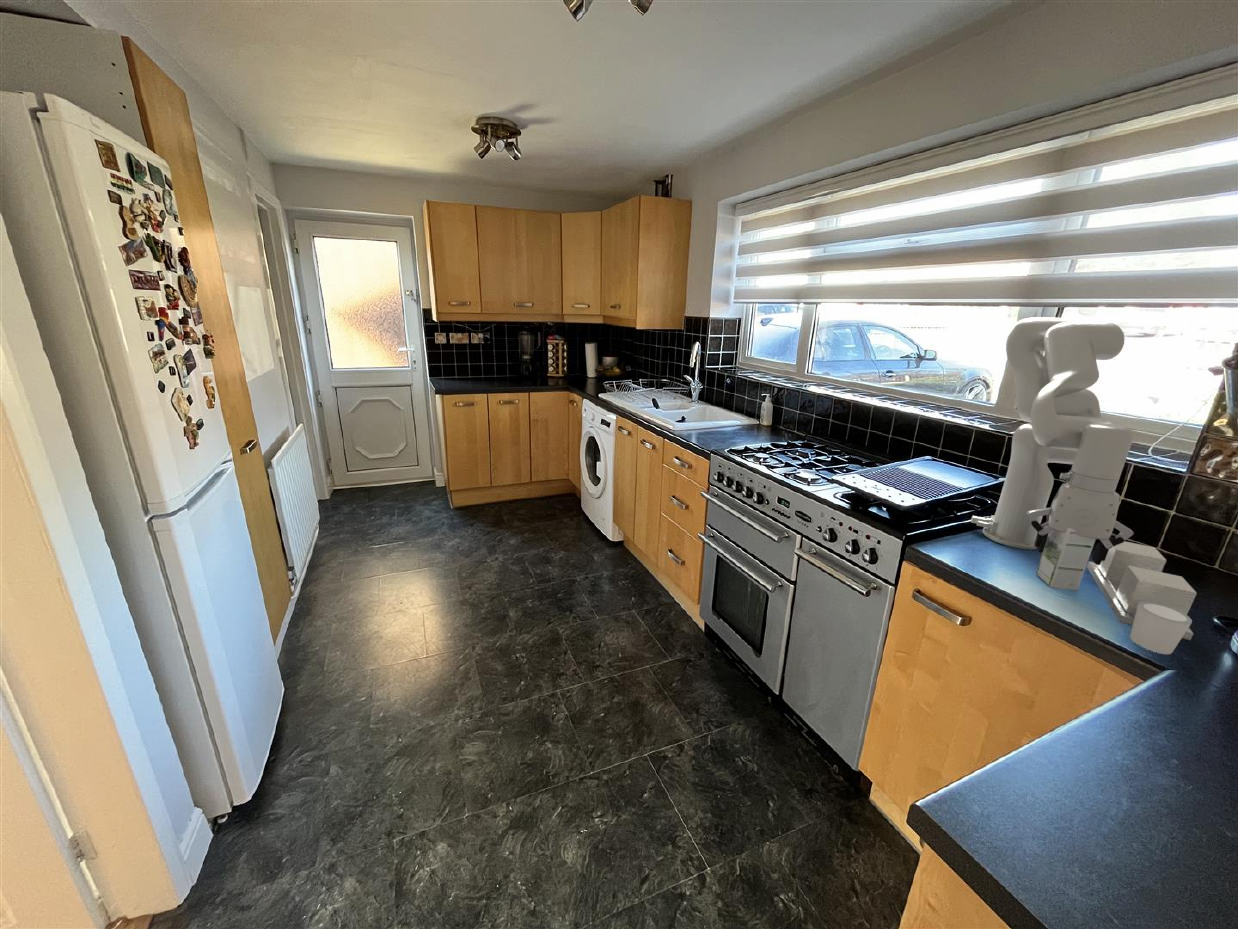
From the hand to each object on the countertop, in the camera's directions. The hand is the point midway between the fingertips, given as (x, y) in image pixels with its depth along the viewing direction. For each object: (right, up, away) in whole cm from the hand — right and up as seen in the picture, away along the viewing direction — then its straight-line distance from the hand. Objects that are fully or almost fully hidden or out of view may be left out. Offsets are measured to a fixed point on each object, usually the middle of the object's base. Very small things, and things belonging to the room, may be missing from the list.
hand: (1066, 556), depth 110 cm
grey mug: (0, -13, -17) cm, 22 cm away
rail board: (+12, -9, -3) cm, 15 cm away
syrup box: (0, -7, +3) cm, 7 cm away
